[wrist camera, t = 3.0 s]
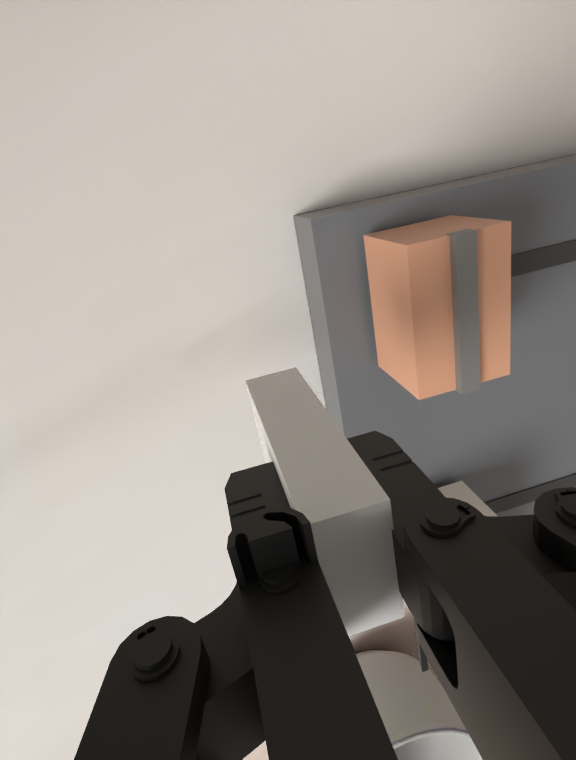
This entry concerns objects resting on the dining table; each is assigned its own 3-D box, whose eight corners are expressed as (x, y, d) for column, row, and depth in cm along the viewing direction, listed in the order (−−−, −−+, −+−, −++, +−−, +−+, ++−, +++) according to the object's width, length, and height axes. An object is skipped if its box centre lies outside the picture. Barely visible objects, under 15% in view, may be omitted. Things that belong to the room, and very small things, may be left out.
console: (293, 215, 22) (311, 219, 20) (720, 123, 26) (787, 115, 23) (352, 563, 31) (370, 600, 29) (663, 461, 35) (707, 485, 32)
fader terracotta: (363, 233, 20) (411, 245, 16) (450, 213, 21) (518, 220, 17) (378, 366, 22) (423, 405, 18) (456, 345, 23) (516, 378, 19)
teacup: (291, 643, 33) (326, 771, 26) (435, 611, 35) (505, 721, 28) (293, 769, 38) (323, 906, 31) (418, 735, 40) (473, 854, 33)
